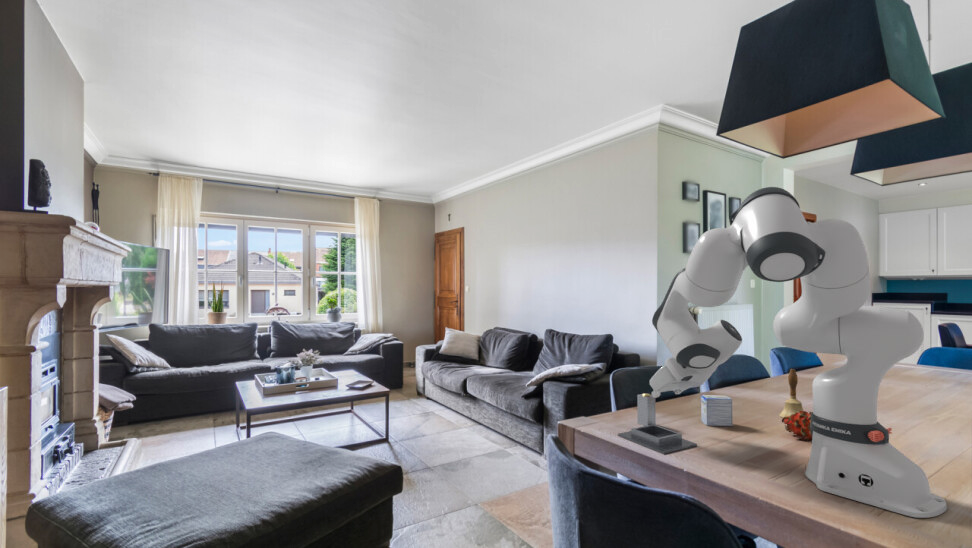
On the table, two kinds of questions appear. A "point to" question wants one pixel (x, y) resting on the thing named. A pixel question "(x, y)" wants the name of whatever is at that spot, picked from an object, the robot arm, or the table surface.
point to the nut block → (646, 409)
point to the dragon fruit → (799, 424)
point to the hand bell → (792, 397)
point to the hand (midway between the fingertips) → (665, 393)
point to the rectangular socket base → (658, 439)
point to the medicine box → (716, 410)
